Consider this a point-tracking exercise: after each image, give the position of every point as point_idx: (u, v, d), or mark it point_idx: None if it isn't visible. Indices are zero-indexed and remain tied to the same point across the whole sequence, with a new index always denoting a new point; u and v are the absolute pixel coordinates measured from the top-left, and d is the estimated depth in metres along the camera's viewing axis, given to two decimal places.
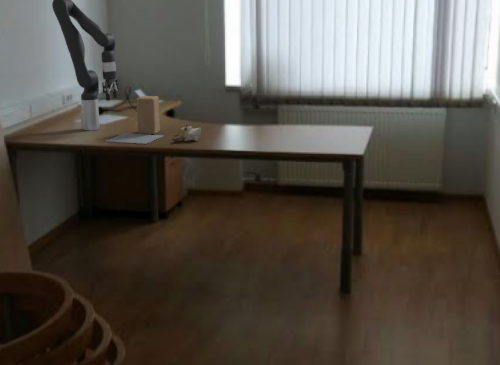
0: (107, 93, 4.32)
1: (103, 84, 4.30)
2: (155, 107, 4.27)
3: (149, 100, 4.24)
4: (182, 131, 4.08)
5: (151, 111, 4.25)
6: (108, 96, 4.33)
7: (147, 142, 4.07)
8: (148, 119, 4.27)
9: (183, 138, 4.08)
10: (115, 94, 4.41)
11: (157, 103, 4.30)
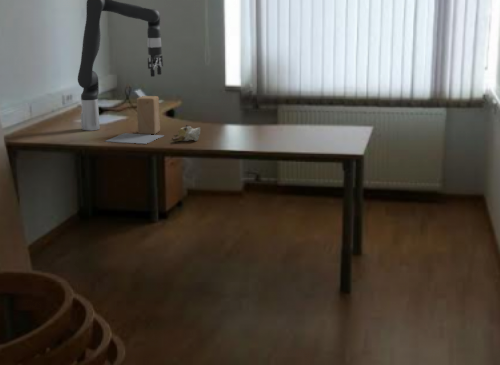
0: (152, 69, 4.31)
1: (148, 60, 4.29)
2: (155, 107, 4.27)
3: (149, 100, 4.24)
4: (182, 131, 4.08)
5: (151, 111, 4.25)
6: (153, 72, 4.32)
7: (147, 142, 4.07)
8: (148, 119, 4.27)
9: (183, 138, 4.08)
10: (159, 71, 4.40)
11: (157, 103, 4.30)
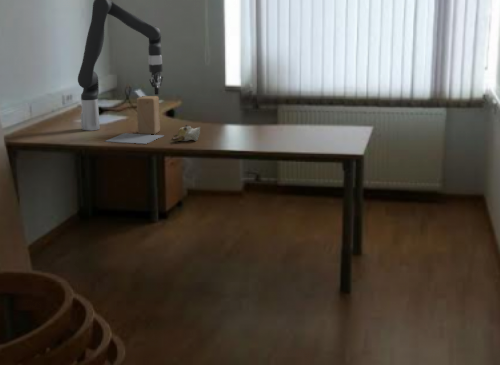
0: (156, 87, 4.37)
1: (151, 81, 4.33)
2: (155, 107, 4.27)
3: (149, 100, 4.24)
4: (182, 131, 4.08)
5: (151, 111, 4.25)
6: (157, 90, 4.38)
7: (147, 142, 4.07)
8: (148, 119, 4.27)
9: (183, 138, 4.08)
10: None
11: (157, 103, 4.30)
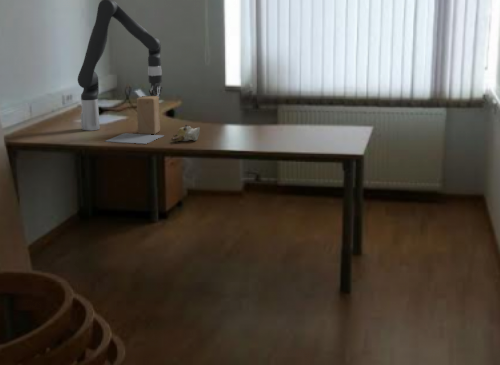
0: None
1: (150, 92, 4.33)
2: (155, 107, 4.27)
3: (149, 100, 4.24)
4: (181, 131, 4.08)
5: (151, 111, 4.25)
6: None
7: (147, 142, 4.07)
8: (148, 119, 4.27)
9: (182, 138, 4.08)
10: None
11: (157, 103, 4.30)
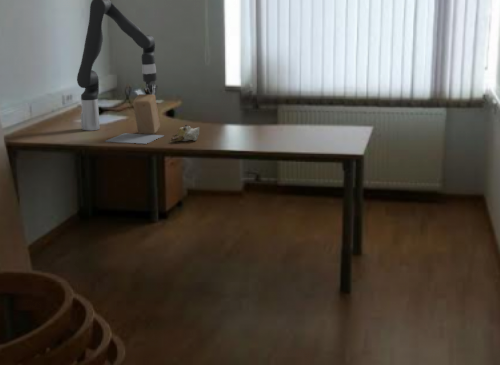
0: None
1: (145, 91, 4.25)
2: (152, 109, 4.23)
3: (145, 103, 4.19)
4: (181, 131, 4.08)
5: (148, 113, 4.22)
6: None
7: (147, 142, 4.07)
8: (146, 121, 4.25)
9: (182, 138, 4.08)
10: None
11: (154, 102, 4.25)
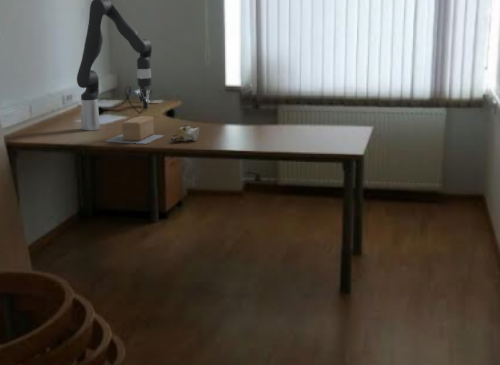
0: (145, 101, 4.25)
1: (139, 95, 4.21)
2: (143, 135, 4.14)
3: (136, 140, 4.11)
4: (181, 131, 4.08)
5: (143, 138, 4.16)
6: (146, 104, 4.26)
7: (147, 142, 4.07)
8: None
9: (182, 138, 4.08)
10: None
11: (142, 127, 4.11)
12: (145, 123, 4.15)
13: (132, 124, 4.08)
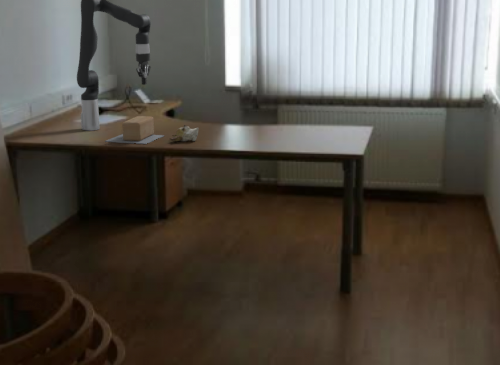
0: (143, 77, 4.22)
1: (137, 71, 4.18)
2: (143, 135, 4.14)
3: (136, 140, 4.11)
4: (180, 131, 4.08)
5: (143, 138, 4.16)
6: (144, 80, 4.23)
7: (147, 142, 4.07)
8: None
9: (180, 138, 4.07)
10: None
11: (142, 127, 4.11)
12: (145, 123, 4.15)
13: (132, 124, 4.08)
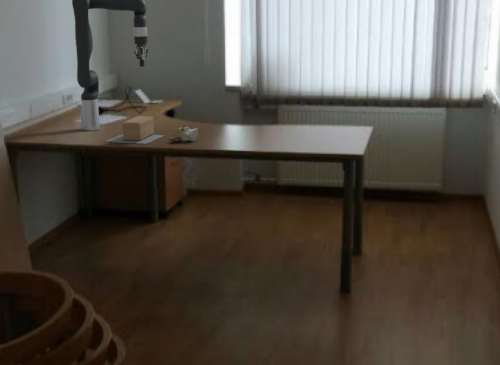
0: (141, 59, 4.37)
1: (136, 53, 4.33)
2: (143, 135, 4.14)
3: (136, 140, 4.11)
4: (179, 131, 4.08)
5: (143, 138, 4.16)
6: (142, 62, 4.38)
7: (147, 142, 4.07)
8: None
9: (179, 138, 4.07)
10: None
11: (142, 127, 4.11)
12: (145, 123, 4.15)
13: (132, 124, 4.08)
